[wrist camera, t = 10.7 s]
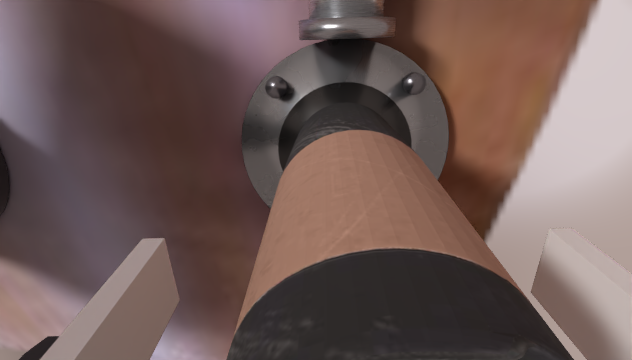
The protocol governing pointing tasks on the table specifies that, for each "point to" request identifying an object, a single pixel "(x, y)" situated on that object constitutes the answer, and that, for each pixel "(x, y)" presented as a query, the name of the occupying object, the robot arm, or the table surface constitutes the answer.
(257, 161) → the fitting
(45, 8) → the table surface
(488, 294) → the travel mug
